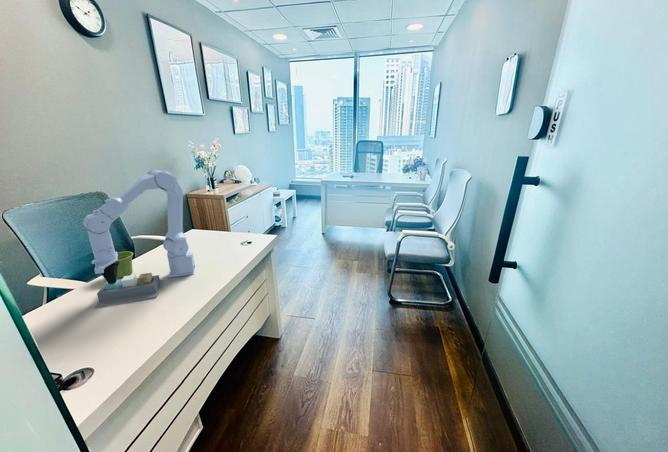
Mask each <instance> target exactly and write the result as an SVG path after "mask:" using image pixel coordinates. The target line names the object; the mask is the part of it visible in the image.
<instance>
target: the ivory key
mask: <svg viewBox="0 0 668 452" xmlns="http://www.w3.org/2000/svg"><path fill="white" fill-rule="evenodd" d="M137 278H138V277H137V274H130V275H128V276H124V277H122V279H120V280H121V283H122V287H130V286H136V284H137Z"/></svg>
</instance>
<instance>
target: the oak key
mask: <svg viewBox="0 0 668 452" xmlns="http://www.w3.org/2000/svg"><path fill="white" fill-rule="evenodd" d="M152 276H153V273H152V272H147V273H140V274H139V276H138V277H137V278H138V283H139V285H143V284H150V283H152V281H153V278H152Z"/></svg>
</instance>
